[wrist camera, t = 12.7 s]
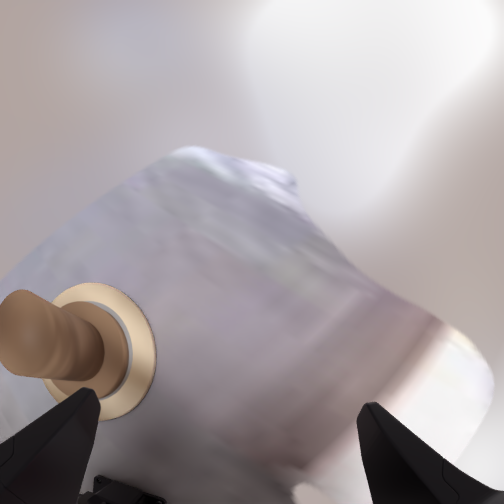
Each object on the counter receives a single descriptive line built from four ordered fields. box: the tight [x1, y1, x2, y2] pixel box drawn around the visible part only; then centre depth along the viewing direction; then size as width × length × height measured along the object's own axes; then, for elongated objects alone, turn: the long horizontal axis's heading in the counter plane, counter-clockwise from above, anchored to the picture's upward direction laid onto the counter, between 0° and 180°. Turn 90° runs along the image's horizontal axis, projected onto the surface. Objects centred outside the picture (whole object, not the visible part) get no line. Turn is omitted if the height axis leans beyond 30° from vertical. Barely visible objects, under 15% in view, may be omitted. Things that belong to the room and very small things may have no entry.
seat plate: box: [42, 283, 156, 421], centre depth 19 cm, size 12×12×3 cm
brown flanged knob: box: [0, 290, 129, 399], centre depth 15 cm, size 8×8×9 cm
